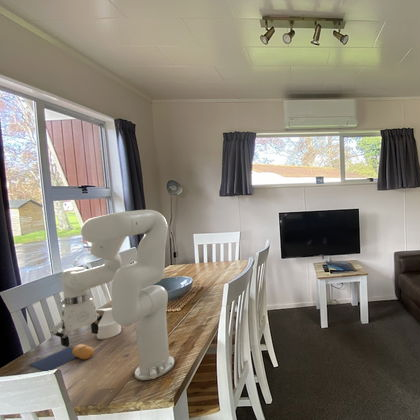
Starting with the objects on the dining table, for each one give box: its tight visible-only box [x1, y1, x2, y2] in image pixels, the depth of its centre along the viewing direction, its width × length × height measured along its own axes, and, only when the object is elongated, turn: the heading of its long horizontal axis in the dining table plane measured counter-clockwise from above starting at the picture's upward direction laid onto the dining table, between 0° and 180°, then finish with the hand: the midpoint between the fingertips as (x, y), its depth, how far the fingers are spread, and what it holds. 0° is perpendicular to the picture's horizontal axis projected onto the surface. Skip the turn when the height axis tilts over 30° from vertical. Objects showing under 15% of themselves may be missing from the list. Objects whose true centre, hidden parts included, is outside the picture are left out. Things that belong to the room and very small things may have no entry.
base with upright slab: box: [96, 307, 122, 340], centre depth 126 cm, size 9×9×12 cm
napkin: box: [30, 347, 78, 372], centre depth 108 cm, size 12×12×1 cm
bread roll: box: [72, 343, 95, 360], centre depth 109 cm, size 9×5×5 cm, turn 68°
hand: (81, 339), depth 109 cm, fingers open, 9 cm apart
